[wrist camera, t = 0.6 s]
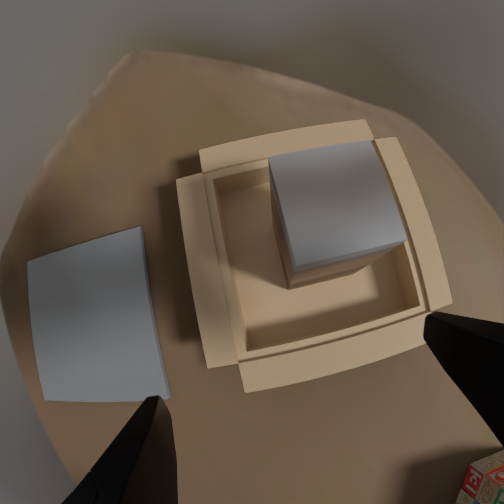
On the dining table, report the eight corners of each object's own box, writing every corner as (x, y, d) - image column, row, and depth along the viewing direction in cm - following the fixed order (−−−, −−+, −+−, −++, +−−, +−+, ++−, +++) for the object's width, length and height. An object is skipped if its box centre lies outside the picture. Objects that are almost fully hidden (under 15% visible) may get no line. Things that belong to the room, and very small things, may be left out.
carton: (435, 329, 20) (457, 329, 17) (224, 386, 21) (214, 397, 17) (375, 139, 24) (386, 117, 21) (186, 177, 25) (173, 157, 21)
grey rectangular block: (353, 274, 21) (407, 239, 11) (287, 290, 21) (296, 266, 12) (335, 211, 22) (370, 139, 13) (272, 225, 23) (267, 157, 13)
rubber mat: (171, 397, 21) (168, 399, 20) (48, 398, 21) (44, 399, 21) (142, 228, 24) (139, 226, 23) (30, 262, 24) (27, 261, 24)
